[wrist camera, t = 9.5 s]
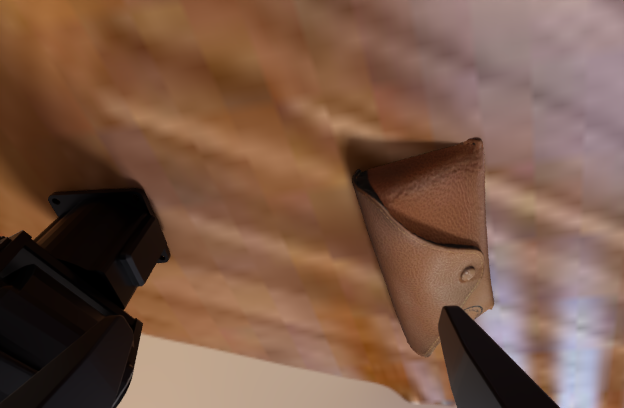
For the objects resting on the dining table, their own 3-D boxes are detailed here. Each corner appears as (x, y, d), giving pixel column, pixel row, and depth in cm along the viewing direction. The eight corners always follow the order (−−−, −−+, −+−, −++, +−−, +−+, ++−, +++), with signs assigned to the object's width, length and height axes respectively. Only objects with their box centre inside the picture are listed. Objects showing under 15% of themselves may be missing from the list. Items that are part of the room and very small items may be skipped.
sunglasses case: (501, 310, 29) (488, 383, 25) (421, 294, 33) (399, 354, 29) (483, 127, 20) (459, 196, 16) (375, 137, 24) (335, 193, 20)
